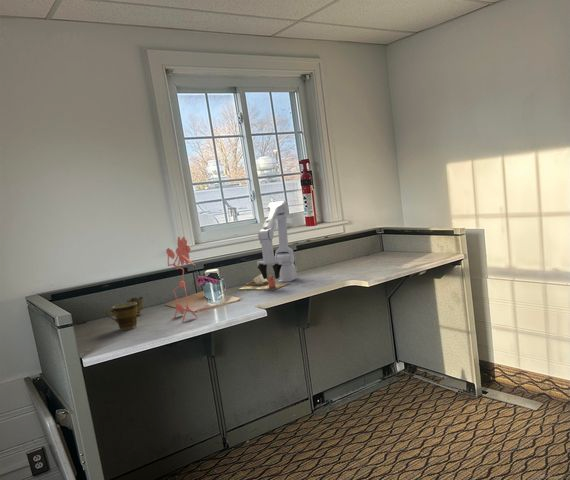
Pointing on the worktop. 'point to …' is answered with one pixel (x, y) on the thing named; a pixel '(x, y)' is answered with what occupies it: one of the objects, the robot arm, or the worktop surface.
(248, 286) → the board
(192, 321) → the worktop surface
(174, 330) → the worktop surface
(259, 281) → the die
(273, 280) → the pawn
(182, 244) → the figurine
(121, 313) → the ceramic cup
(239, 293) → the worktop surface
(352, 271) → the worktop surface
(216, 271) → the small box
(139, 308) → the cup
